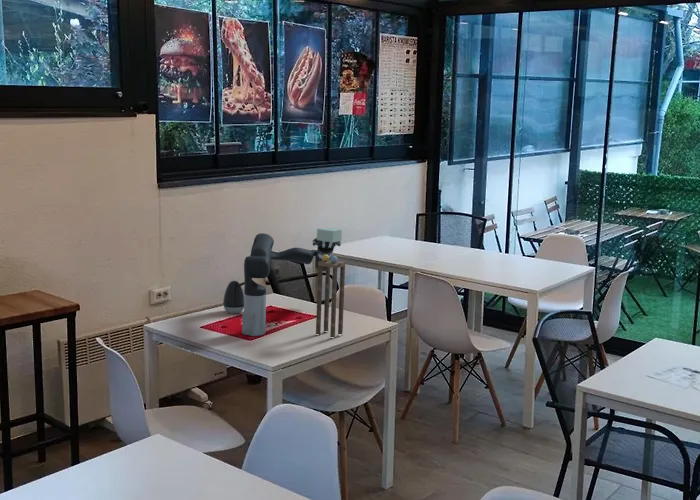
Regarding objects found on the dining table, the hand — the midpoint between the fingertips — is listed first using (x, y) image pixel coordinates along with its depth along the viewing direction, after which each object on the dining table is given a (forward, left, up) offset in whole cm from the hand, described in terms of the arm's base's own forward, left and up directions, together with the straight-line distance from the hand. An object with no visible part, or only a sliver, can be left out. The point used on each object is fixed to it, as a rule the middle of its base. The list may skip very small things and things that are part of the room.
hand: (328, 235), depth 354 cm
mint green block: (0, -1, -1) cm, 1 cm away
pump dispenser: (-16, +41, -40) cm, 59 cm away
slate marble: (-18, -17, -7) cm, 26 cm away
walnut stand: (-18, -15, -39) cm, 46 cm away
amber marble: (-18, -13, -7) cm, 23 cm away
